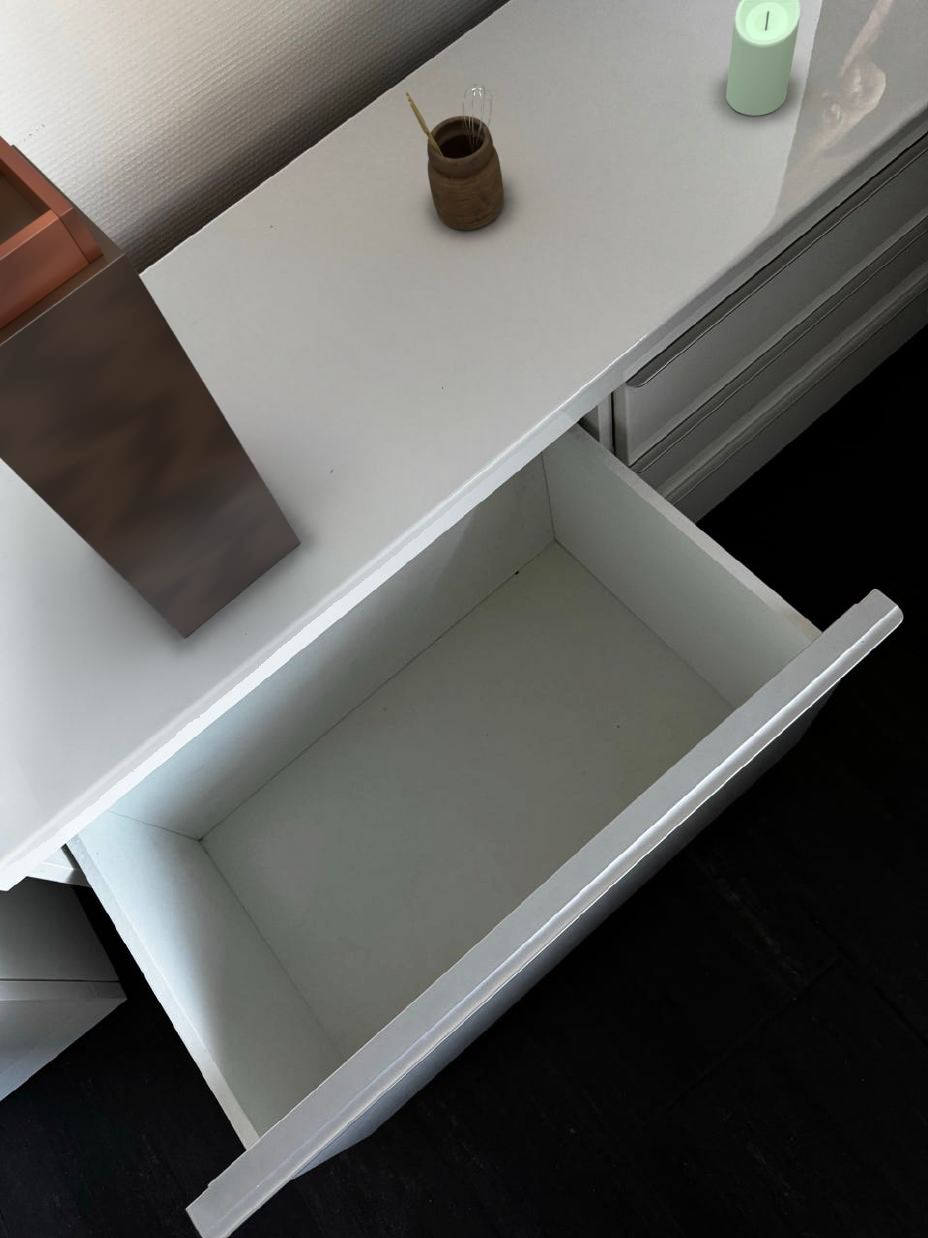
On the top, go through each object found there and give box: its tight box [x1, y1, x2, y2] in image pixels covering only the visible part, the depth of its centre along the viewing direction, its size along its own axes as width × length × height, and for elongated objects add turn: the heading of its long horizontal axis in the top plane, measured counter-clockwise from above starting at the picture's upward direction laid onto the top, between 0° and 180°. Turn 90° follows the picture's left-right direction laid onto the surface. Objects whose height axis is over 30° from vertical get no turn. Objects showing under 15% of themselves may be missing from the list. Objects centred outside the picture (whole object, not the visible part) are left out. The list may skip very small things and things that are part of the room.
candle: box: [725, 0, 802, 117], centre depth 84 cm, size 5×5×8 cm
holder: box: [0, 135, 302, 639], centre depth 63 cm, size 11×11×33 cm
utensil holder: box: [404, 83, 504, 231], centre depth 82 cm, size 6×6×12 cm
